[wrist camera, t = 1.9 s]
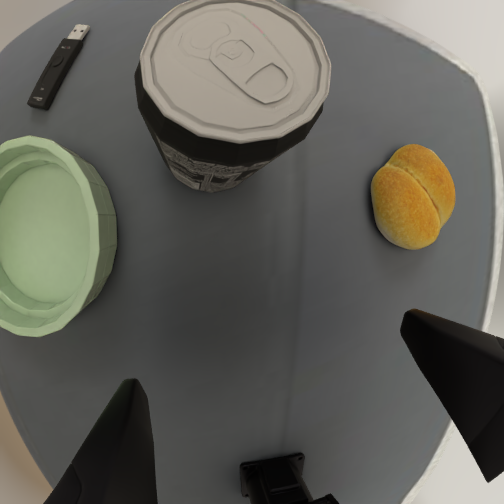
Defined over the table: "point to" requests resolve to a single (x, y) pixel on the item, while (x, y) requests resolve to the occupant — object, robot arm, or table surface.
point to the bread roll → (412, 197)
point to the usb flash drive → (57, 68)
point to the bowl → (51, 235)
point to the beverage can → (229, 87)
